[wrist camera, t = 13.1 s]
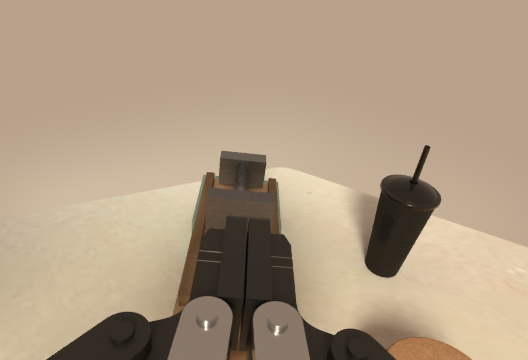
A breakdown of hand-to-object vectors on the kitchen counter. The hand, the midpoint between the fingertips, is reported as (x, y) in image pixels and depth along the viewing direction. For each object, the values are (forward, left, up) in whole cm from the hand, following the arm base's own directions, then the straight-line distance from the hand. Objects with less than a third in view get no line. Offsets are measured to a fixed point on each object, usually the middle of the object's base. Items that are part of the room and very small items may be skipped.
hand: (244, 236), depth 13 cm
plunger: (0, +26, -20) cm, 33 cm away
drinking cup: (+22, +31, -30) cm, 49 cm away
